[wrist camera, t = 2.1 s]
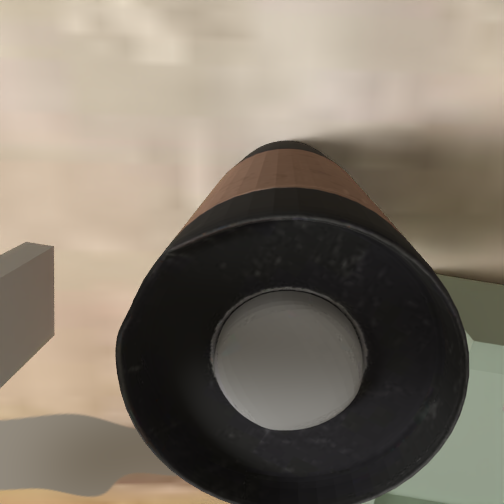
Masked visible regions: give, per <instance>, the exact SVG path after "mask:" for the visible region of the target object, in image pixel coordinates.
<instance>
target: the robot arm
mask: <svg viewBox="0 0 504 504" xmlns="http://www.w3.org/2000/svg"><path fill="white" fill-rule="evenodd" d="M53 336H54V246H48V245H42V244H36V243H30V242H25V243H23V244H21V245H19V246H17V247H15V248H13V249H11V250H10V251H8V252H6V253H4V254H2V255H0V388H1V387H2V386H3V385H4V384H5V383H6V382H7V381H8V380H9V379H10V378H11V377H12V376H13V375H14V374H15V373H16V372H17V371H18V370H19V369H20V368H21V367H22V366H23V365H24V364H25V363H26V362H27V361H28V360H29V359H30V358H31V357H33V356H34V355H35V354H36V353H37V352H38V351H39V350H40V349H41V348H42V347H43V346H44V345H45V344H46V343H47V342H48V341H49V340H50V339H51V338H52V337H53ZM502 410H503V411H504V406H503V408H502Z"/></svg>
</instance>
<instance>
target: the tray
mask: <svg viewBox="0 0 504 504" xmlns="http://www.w3.org/2000/svg"><path fill="white" fill-rule="evenodd" d="M436 275H437V276H438V278H439V279H440V280H441V282H442V283H443V284H444V286H445V287H446V289H447V291H448V293H449V294H450V296H451V298H452V300H453V302H454V304H455V306H456V308H457V310H458V312H459V315H460V318H461V321H462V324H463V327H464V330H465V333H466V338H467V344H468V350H469V381H468V387H467V394H466V398H465V402H464V405H463V408H462V411H461V414H460V417H459V419H458V421H457V423H456V425H455V427H454V429H453V431H452V433H451V435H450V436H449V438H448V439H447V440H446V442H445V443H444V445H443V446H442V448H441V449H440V450H439V452H438V453H437V454H436V455H435V456H434V457H433V458H432V459H431V460H430V462H429V463H428V464H427V465H426V466H424V467H423V468H422V469H421V470H420V471H419V472H418V473H416V474H415V475H414V476H413V477H412V478H410V479H409V480H407V481H406V482H404V483H403V484H401V485H400V486H398V487H397V488H395V489H393V490H391V491H389V492H387V493H386V494H384V495H382V496H380V497H378V498H375V499H373V500H370V501H367V502H365V503H362V504H504V411H503V410H502V408H503V406H504V285H501V284H494V283H488V282H482V281H476V280H469V279H463V278H457V277H451V276H444V275H438V274H436Z"/></svg>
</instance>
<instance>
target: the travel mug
mask: <svg viewBox="0 0 504 504" xmlns="http://www.w3.org/2000/svg"><path fill="white" fill-rule="evenodd" d="M116 367H117V375H118V380H119V385H120V390H121V394H122V397H123V400H124V403H125V406H126V409H127V412H128V414H129V416H130V418H131V420H132V422H133V424H134V426H135V428H136V429H137V431H138V432H139V434H140V435H141V437H142V439H143V440H144V442H145V443H146V444H147V446H148V447H149V448H150V449H151V450H152V452H153V453H154V454H155V455H156V456H157V457H158V458H159V459H160V460H161V461H162V462H163V463H164V464H165V465H166V466H167V467H168V468H169V469H170V470H171V471H173V472H174V473H176V474H177V475H178V476H179V477H181V478H182V479H183V480H185V481H186V482H188V483H189V484H191V485H193V486H194V487H196V488H198V489H199V490H201V491H203V492H205V493H207V494H209V495H211V496H214V497H216V498H218V499H220V500H223V501H225V502H228V503H231V504H362V503H365V502H367V501H370V500H373V499H375V498H378V497H380V496H382V495H384V494H386V493H387V492H389V491H391V490H393V489H395V488H397V487H398V486H400V485H401V484H403V483H404V482H406V481H407V480H409V479H410V478H412V477H413V476H414V475H415V474H416V473H418V472H419V471H420V470H421V469H422V468H423V467H424V466H426V465H427V464H428V463H429V462H430V460H431V459H432V458H433V457H434V456H435V455H436V454H437V453H438V452H439V450H440V449H441V448H442V446H443V445H444V443H445V442H446V440H447V439H448V438H449V436H450V435H451V433H452V431H453V429H454V427H455V425H456V423H457V421H458V419H459V417H460V414H461V411H462V408H463V405H464V402H465V398H466V394H467V387H468V381H469V350H468V344H467V338H466V333H465V330H464V327H463V324H462V321H461V318H460V315H459V312H458V310H457V308H456V306H455V304H454V302H453V300H452V298H451V296H450V294H449V293H448V291H447V289H446V287H445V286H444V284H443V283H442V282H441V280H440V279H439V278H438V276H437V275H436V274H435V272H434V271H433V270H432V268H431V267H430V266H429V264H428V263H427V262H426V261H425V260H424V259H423V258H422V257H421V255H420V254H419V253H418V252H417V251H416V250H415V249H414V248H413V246H412V245H411V244H410V243H409V242H408V241H407V240H406V239H405V237H404V236H403V235H402V234H401V233H400V232H399V231H398V230H397V228H396V227H395V226H394V225H393V224H392V223H391V222H390V221H389V219H388V218H387V217H386V216H385V215H384V214H383V213H382V212H381V210H380V209H379V208H378V207H377V206H376V205H375V204H374V203H373V201H372V200H371V199H370V198H369V197H368V196H367V195H366V194H365V192H364V191H363V190H362V189H361V188H360V187H359V186H358V185H357V183H356V182H355V181H354V180H353V179H352V178H351V177H350V176H349V175H348V174H347V173H346V172H345V171H344V170H343V169H342V168H341V167H340V166H338V165H337V164H336V163H334V162H333V161H332V160H330V159H329V158H327V157H326V156H325V155H323V154H322V153H321V152H319V151H318V150H316V149H314V148H312V147H310V146H308V145H306V144H303V143H299V142H294V141H278V142H272V143H269V144H266V145H264V146H262V147H259V148H258V149H256V150H255V151H253V152H251V153H250V154H249V155H248V156H246V157H245V158H244V159H243V160H242V161H240V162H239V163H238V164H237V165H236V166H234V167H233V168H232V169H231V170H230V171H228V172H227V173H226V175H225V176H224V177H223V178H222V179H221V180H220V181H219V183H218V184H217V185H216V186H215V188H214V189H213V190H212V191H211V193H210V194H209V195H208V197H207V198H206V199H205V200H204V202H203V203H202V204H201V205H200V207H199V208H198V209H197V210H196V212H195V213H194V214H193V216H192V217H191V218H190V219H189V221H188V222H187V223H186V224H185V226H184V227H183V228H182V230H181V231H180V232H179V233H178V235H177V236H176V237H175V238H174V240H173V241H172V242H171V243H170V245H169V246H168V247H167V248H166V250H165V251H164V252H163V254H162V255H161V256H160V257H159V259H158V260H157V261H156V262H155V264H154V265H153V267H152V268H151V270H150V271H149V273H148V274H147V276H146V277H145V279H144V280H143V282H142V284H141V286H140V288H139V290H138V292H137V294H136V296H135V298H134V300H133V303H132V305H131V307H130V309H129V311H128V313H127V315H126V317H125V319H124V321H123V323H122V325H121V327H120V330H119V332H118V336H117V341H116Z"/></svg>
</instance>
